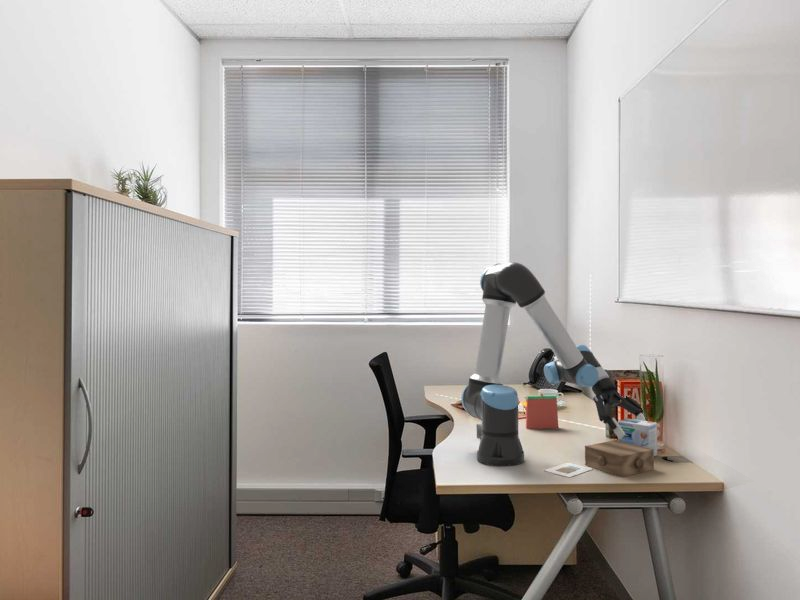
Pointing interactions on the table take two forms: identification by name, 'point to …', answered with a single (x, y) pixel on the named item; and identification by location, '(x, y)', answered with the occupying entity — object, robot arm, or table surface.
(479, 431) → the dice cube
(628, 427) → the light bulb box
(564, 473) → the white picture frame
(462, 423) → the table surface
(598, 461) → the base brick
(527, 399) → the toy building block set
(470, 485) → the table surface
